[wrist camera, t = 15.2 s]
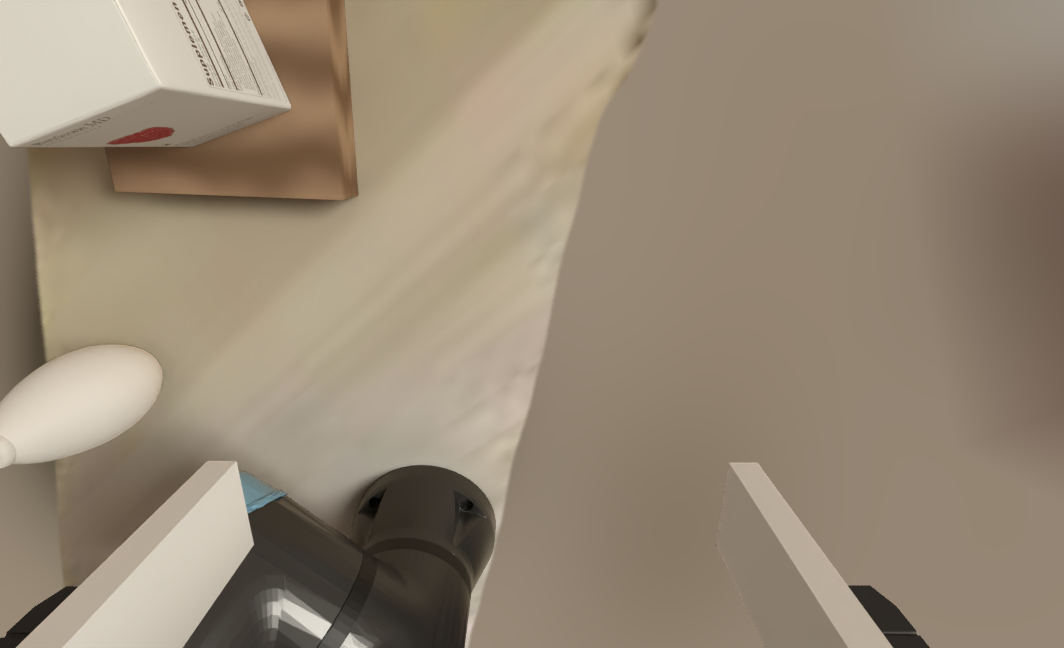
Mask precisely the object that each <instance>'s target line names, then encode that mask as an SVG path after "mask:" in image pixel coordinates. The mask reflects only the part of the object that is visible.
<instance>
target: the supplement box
mask: <svg viewBox="0 0 1064 648" xmlns="http://www.w3.org/2000/svg"><path fill="white" fill-rule="evenodd" d="M290 109H291V104H290V102H289V100H288V98H287V95H286V93H285V91H284V89H283V87H282V85H281V82H280V80H279V78H278V76H277V74H276V71H275V69H274V67H273V65H272V63H271V61H270V58H269V56H268V54H267V52H266V50H265V48H264V45H263V43H262V41H261V39H260V37H259V35H258V32H257V30H256V28H255V26H254V24H253V22H252V19H251V17H250V15H249V13H248V11H247V9H246V6H245V4H244V2H243V0H0V133H1V135H2V136H3V138H4V139H5V141H6V142H7V144H8V145H9V146H11V147H193V146H196V145H199V144H202V143H204V142H207V141H210V140H212V139H215V138H218V137H220V136H223V135H226V134H228V133H231V132H234V131H236V130H239V129H242V128H244V127H247V126H249V125H252V124H255V123H257V122H260V121H263V120H265V119H268V118H270V117H273V116H276V115H278V114H281V113H283V112H286V111H288V110H290Z"/></svg>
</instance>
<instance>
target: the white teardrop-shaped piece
mask: <svg viewBox="0 0 1064 648" xmlns="http://www.w3.org/2000/svg"><path fill="white" fill-rule="evenodd" d="M162 380H163V375H162V369H161V367H160V364H159V363H158V361H157V360H156V359H155V358H154V357H153V356H152V355H151V354H149V353H148V352H146V351H144V350H142V349H140V348H137V347H133V346H128V345H117V344H105V345H95V346H89V347H85V348H81V349H78V350H75V351H72V352H69V353H67V354H64V355H62V356H59V357H57V358H55V359H53V360H51V361H49V362H47V363H46V364H44V365H42V366H41V367H40V368H38V369H36V370H35V371H34V372H32V373H31V374H29V375H28V376H27V377H26V378H24V379H23V380H22V381H21V382H19V383H18V384H17V385H16V386H15V387H14V388H13V389H12V390H11V391H10V392H9V393H8V394H7V395H6V396H5V397H4V399H3V400H2V401H1V402H0V469H1V468H5V467H7V466H9V465H11V464H31V463H41V462H47V461H52V460H57V459H61V458H65V457H69V456H72V455H75V454H78V453H82V452H85V451H87V450H90V449H93V448H95V447H98V446H100V445H102V444H104V443H106V442H108V441H110V440H112V439H114V438H116V437H117V436H119V435H120V434H122V433H123V432H125V431H126V430H128V429H129V428H131V427H132V426H133V425H135V424H136V423H137V422H138V421H139V420H141V418H142V417H143V416H144V415H145V414H146V413H147V412H148V411H149V409H150V408H151V407H152V406H153V404H154V402H155V401H156V399H157V397H158V395H159V392H160V389H161V385H162Z"/></svg>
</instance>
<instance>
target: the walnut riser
mask: <svg viewBox="0 0 1064 648" xmlns="http://www.w3.org/2000/svg"><path fill="white" fill-rule="evenodd" d="M243 2H244V4H245V6H246V9H247V11H248V13H249V15H250V17H251V19H252V22H253V24H254V26H255V28H256V30H257V32H258V35H259V37H260V39H261V41H262V43H263V45H264V48H265V50H266V52H267V54H268V56H269V58H270V61H271V63H272V65H273V67H274V69H275V71H276V74H277V76H278V78H279V80H280V82H281V85H282V87H283V89H284V91H285V93H286V95H287V98H288V100H289V102H290V104H291V109H290V110H288V111H286V112H283V113H281V114H278V115H276V116H273V117H270V118H268V119H265V120H263V121H260V122H257V123H255V124H252V125H249V126H247V127H244V128H242V129H239V130H236V131H234V132H231V133H228V134H226V135H223V136H220V137H218V138H215V139H212V140H210V141H207V142H204V143H202V144H199V145H196V146H193V147H105V150H106V154H107V159H108V163H109V167H110V172H111V176H112V181H113V185H114V190H115V191H116V192H142V193H168V194H194V195H221V196H247V197H273V198H300V199H326V200H345V199H348V198H352V197H355V196H358V185H357V171H356V157H355V143H354V130H353V116H352V102H351V88H350V74H349V61H348V47H347V33H346V19H345V5H344V0H243Z"/></svg>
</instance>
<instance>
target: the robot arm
mask: <svg viewBox="0 0 1064 648" xmlns="http://www.w3.org/2000/svg"><path fill="white" fill-rule="evenodd" d="M286 495H287V493H286V492H285V491H283V490H280V491H278V490H277V489H275V488H273V487H271V486H270V485H268V484H266V483H264V482H263V481H261V480H259V479H258V478H256V477H255V476H253V475H251V474H250V473H247V472H244V471H239V470H238V466H237V461H207V462H206V463H205V464H204V465H203V466H202V467H201V468H200V469H199V470H197V471H196V472H195V473H194V474H193V475H192V476H191V477H190V478H189V479H188V480H187V481H186V482H185V483H184V484H183V485H182V486H181V487H180V488H179V489H178V490H177V491H176V492H175V493H174V494H173V495H172V496H171V497H170V498H169V499H168V500H167V501H166V502H165V503H164V504H163V505H162V506H161V507H160V508H159V509H157V510H156V511H155V512H154V513H153V514H152V515H151V516H150V517H149V518H148V519H147V520H146V521H145V522H144V523H143V524H142V525H141V526H140V527H139V528H138V529H137V530H136V531H135V532H134V533H133V534H132V535H131V536H130V537H129V538H128V539H127V540H126V541H125V542H124V543H123V544H122V545H121V546H120V547H118V548H117V549H116V550H115V551H114V552H113V553H112V554H111V555H110V556H109V557H108V558H107V559H106V560H105V561H104V562H103V563H102V564H101V565H100V566H99V567H98V568H97V569H96V570H95V571H94V572H93V573H92V574H91V575H90V576H89V577H88V578H87V579H86V580H85V581H84V582H83V583H82V584H81V585H80V586H78V587H65V588H63V589H62V590H60V591H59V592H57V593H56V594H54V595H52V596H51V597H49V598H48V599H46V600H45V601H43V602H42V603H40V604H38V605H37V606H35V607H34V608H33V609H32V610H31V611H29V612H28V613H27V614H26V615H25V616H24V617H23V618H22V619H21V620H20V621H19V622H18V623H16V625H14V626H13V627H12V628H11V629H10V630H9V631H8V632H7V634H6V636H5V638H0V648H465V640H466V632H467V623H468V615H469V607H470V599H471V592H472V590H473V588H474V587H475V585H476V583H477V581H478V579H479V578H480V576H481V574H482V572H483V570H484V568H485V567H486V565H487V563H488V561H489V559H490V557H491V554H492V551H493V547H494V541H495V530H496V521H495V515H494V511H493V508H492V506H491V504H490V502H489V500H488V498H487V497H486V495H485V494H484V493H483V492H482V491H481V489H480V488H479V487H478V486H476V485H475V484H474V483H473V482H472V481H470V480H469V479H467V478H466V477H464V476H462V475H460V474H458V473H456V472H453V471H451V470H448V469H444V468H440V467H434V466H411V467H405V468H401V469H398V470H395V471H392V472H390V473H388V474H386V475H384V476H383V477H381V478H380V479H378V480H377V481H376V482H375V483H373V484H372V486H371V487H370V488H369V489H368V490H367V492H366V493H365V495H364V496H363V498H362V500H361V502H360V505H359V507H358V509H357V511H356V513H355V516H354V520H353V525H352V541H351V540H350V539H348V538H347V537H346V536H344V535H343V534H341V533H340V532H338V531H337V530H335V529H334V528H332V527H331V526H329V525H328V524H326V523H325V522H323V521H322V520H320V519H319V518H317V517H316V516H315V515H313V514H312V513H310V512H309V511H308V510H306V509H305V508H303V507H302V506H300V505H299V504H298V503H296V502H295V501H293V500H292V499H291V498H289V497H288V496H286ZM716 546H717V548H718V551H719V553H720V555H721V557H722V559H723V561H724V563H725V565H726V567H727V570H728V571H729V574H730V576H731V578H732V580H733V582H734V584H735V586H736V588H737V591H738V592H739V595H740V597H741V599H742V601H743V603H744V605H745V607H746V609H747V612H748V614H749V616H750V618H751V620H752V622H753V624H754V626H755V628H756V630H757V633H758V635H759V637H760V639H761V641H762V643H763V645H764V647H765V648H930V647H929V646H928V645H927V644H926V643H925V641H924V640H923V639H922V638H921V636H918V635H917V634H916V630H915V629H914V628H913V626H912V625H911V624H910V623H909V621H908V620H907V619H906V618H905V617H904V615H903V614H902V613H901V612H900V610H899V609H898V608H897V607H896V606H895V605H894V604H893V603H891V602H890V601H889V600H887V599H886V598H885V597H884V596H882V595H881V594H880V593H879V592H877V591H876V590H875V589H874V588H872V587H871V586H847V584H846V583H845V582H844V580H843V579H842V578H841V576H840V575H839V573H838V572H837V571H836V569H835V568H834V566H833V565H832V564H831V562H830V561H829V560H828V558H827V557H826V556H825V554H824V553H823V551H822V550H821V549H820V547H819V546H818V545H817V543H816V542H815V541H814V539H813V538H812V536H810V534H809V532H808V531H807V530H806V528H805V527H804V526H803V524H802V523H801V521H800V520H799V519H798V518H797V516H796V515H795V513H794V512H793V510H792V509H791V508H790V506H789V505H788V504H787V502H786V501H785V500H784V498H783V497H782V496H781V494H780V493H779V491H778V490H777V489H776V487H775V486H774V485H773V483H772V482H771V480H770V479H769V478H768V477H767V475H766V474H765V472H764V471H763V470H762V468H761V467H760V466H759V464H758V463H729V467H728V473H727V479H726V485H725V491H724V498H723V504H722V511H721V517H720V523H719V530H718V536H717V542H716Z"/></svg>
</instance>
